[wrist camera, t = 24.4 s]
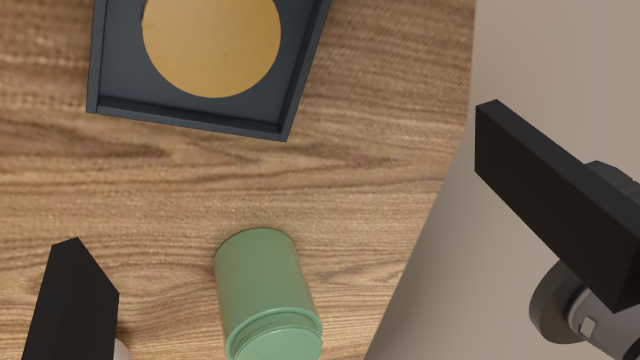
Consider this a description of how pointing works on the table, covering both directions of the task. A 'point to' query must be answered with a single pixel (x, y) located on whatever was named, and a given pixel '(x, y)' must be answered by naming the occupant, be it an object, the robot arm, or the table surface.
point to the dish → (191, 110)
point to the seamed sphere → (121, 351)
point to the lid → (211, 43)
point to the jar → (265, 299)
